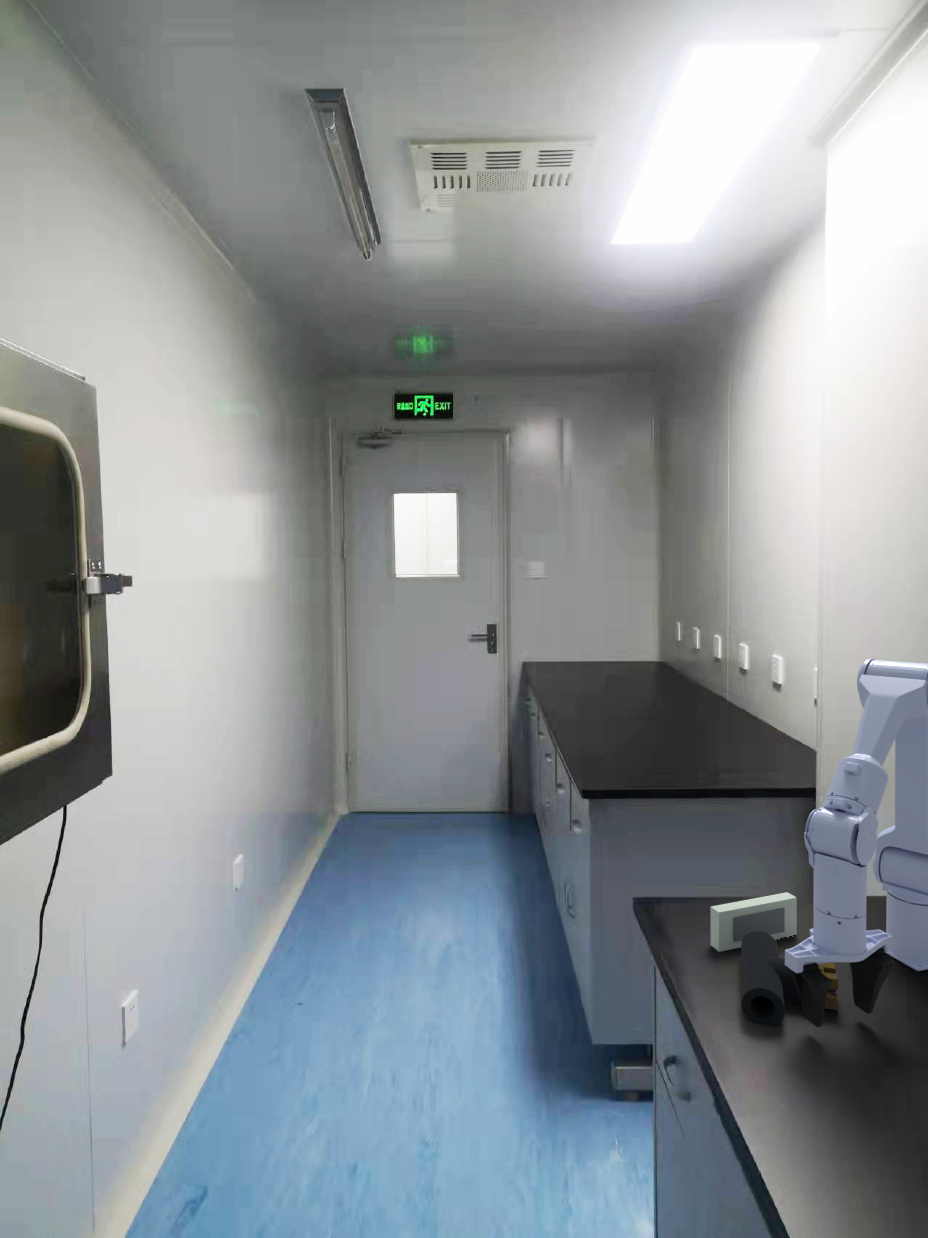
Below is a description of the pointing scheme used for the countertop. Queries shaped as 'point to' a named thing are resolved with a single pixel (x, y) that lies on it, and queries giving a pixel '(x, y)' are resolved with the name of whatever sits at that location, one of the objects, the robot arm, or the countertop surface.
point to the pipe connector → (772, 981)
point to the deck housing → (753, 919)
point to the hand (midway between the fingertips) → (838, 1015)
